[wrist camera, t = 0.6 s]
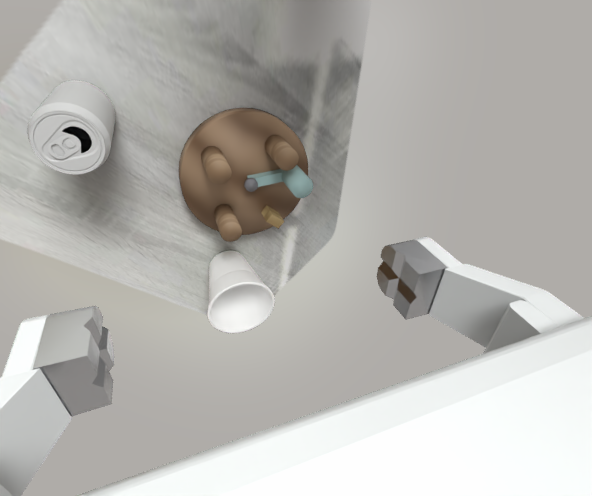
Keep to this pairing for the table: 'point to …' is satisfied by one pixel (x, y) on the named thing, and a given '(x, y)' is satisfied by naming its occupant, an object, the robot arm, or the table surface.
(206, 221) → the stool seat
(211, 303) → the cup
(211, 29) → the table surface
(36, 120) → the beverage can
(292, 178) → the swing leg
